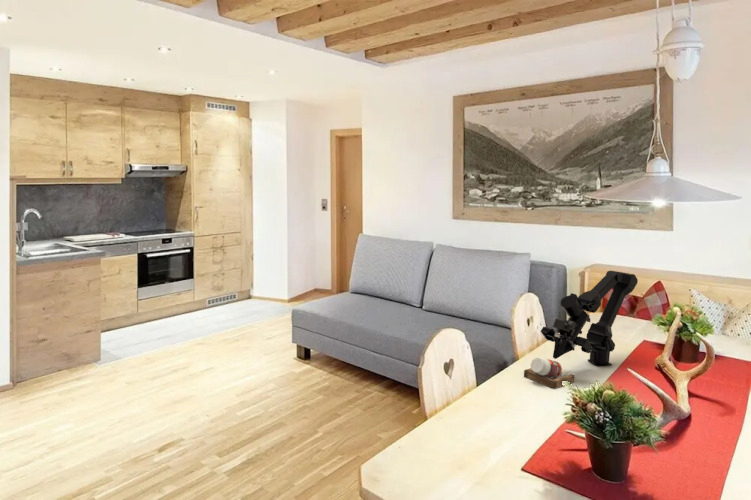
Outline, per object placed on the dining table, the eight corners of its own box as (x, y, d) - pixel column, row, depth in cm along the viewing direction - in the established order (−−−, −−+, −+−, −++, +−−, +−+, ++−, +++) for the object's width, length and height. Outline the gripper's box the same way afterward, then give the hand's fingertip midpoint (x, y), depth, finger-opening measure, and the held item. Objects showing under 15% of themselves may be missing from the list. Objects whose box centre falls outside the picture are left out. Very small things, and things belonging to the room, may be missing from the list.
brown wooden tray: (544, 370, 196) (544, 364, 196) (574, 382, 186) (574, 375, 186) (523, 376, 190) (524, 370, 190) (553, 388, 179) (554, 382, 179)
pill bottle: (564, 364, 187) (546, 358, 181) (560, 380, 187) (541, 376, 180) (550, 359, 192) (532, 354, 186) (545, 375, 192) (527, 370, 185)
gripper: (545, 305, 196) (524, 338, 192) (589, 317, 181) (567, 353, 177) (557, 322, 202) (536, 355, 197) (601, 335, 187) (580, 370, 182)
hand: (554, 358), depth 188 cm, fingers closed
